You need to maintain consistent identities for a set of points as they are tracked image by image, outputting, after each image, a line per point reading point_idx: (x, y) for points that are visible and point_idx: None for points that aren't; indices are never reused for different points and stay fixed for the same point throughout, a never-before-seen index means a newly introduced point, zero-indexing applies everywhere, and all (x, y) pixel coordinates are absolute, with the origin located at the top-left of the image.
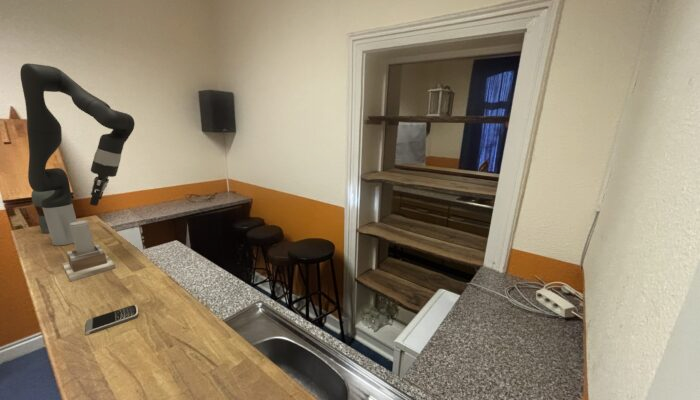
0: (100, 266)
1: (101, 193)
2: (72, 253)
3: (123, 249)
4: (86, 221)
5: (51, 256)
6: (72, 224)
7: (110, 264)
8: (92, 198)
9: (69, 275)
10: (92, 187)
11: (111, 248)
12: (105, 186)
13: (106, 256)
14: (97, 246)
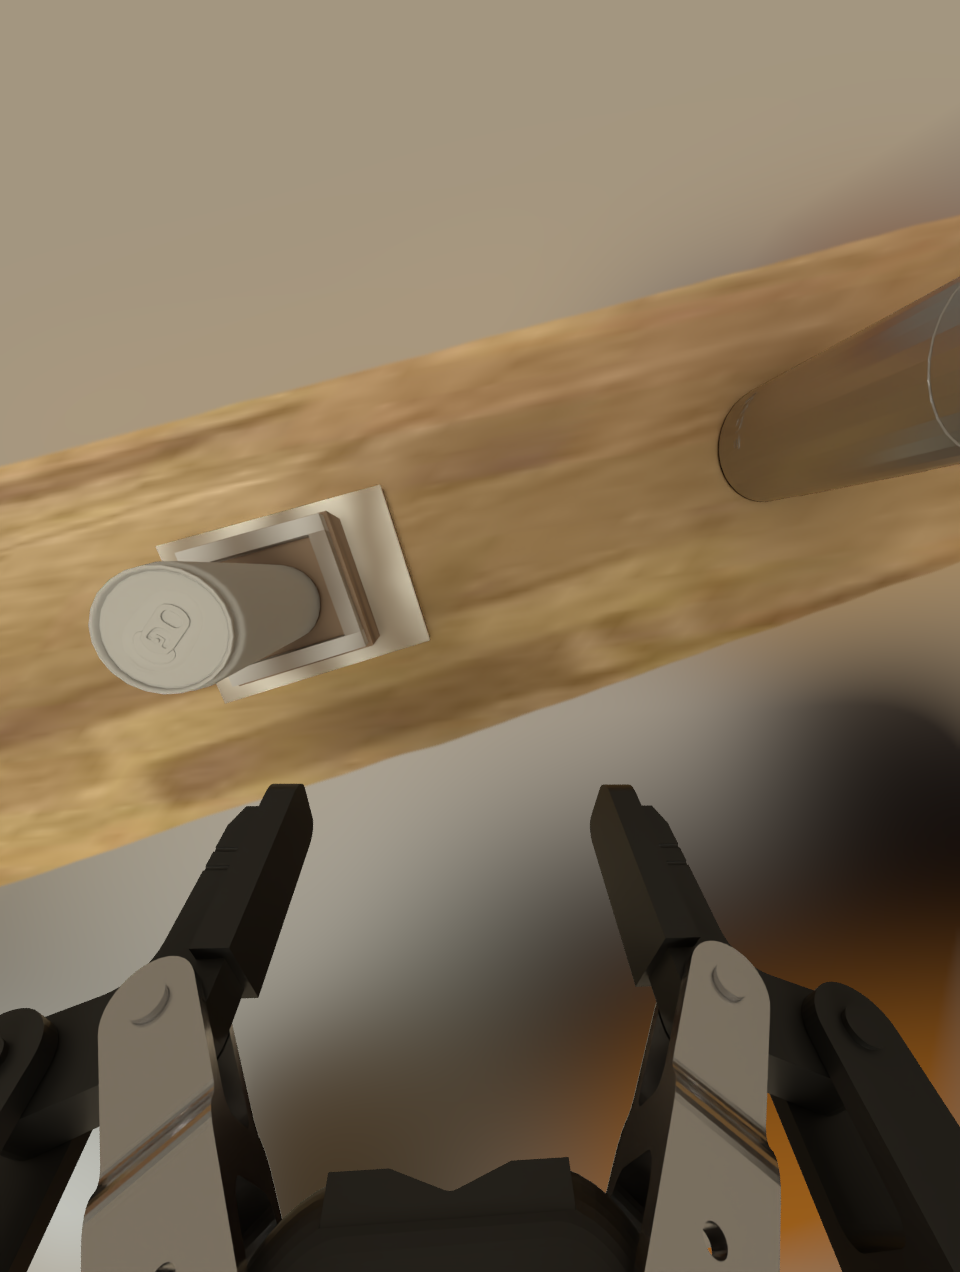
0: None
1: (622, 918)
2: (262, 546)
3: (475, 700)
4: (199, 681)
5: (577, 412)
6: (126, 588)
7: (234, 686)
8: (185, 904)
9: (182, 542)
10: (84, 1239)
11: (525, 649)
12: (612, 1174)
13: (363, 656)
14: (321, 650)
